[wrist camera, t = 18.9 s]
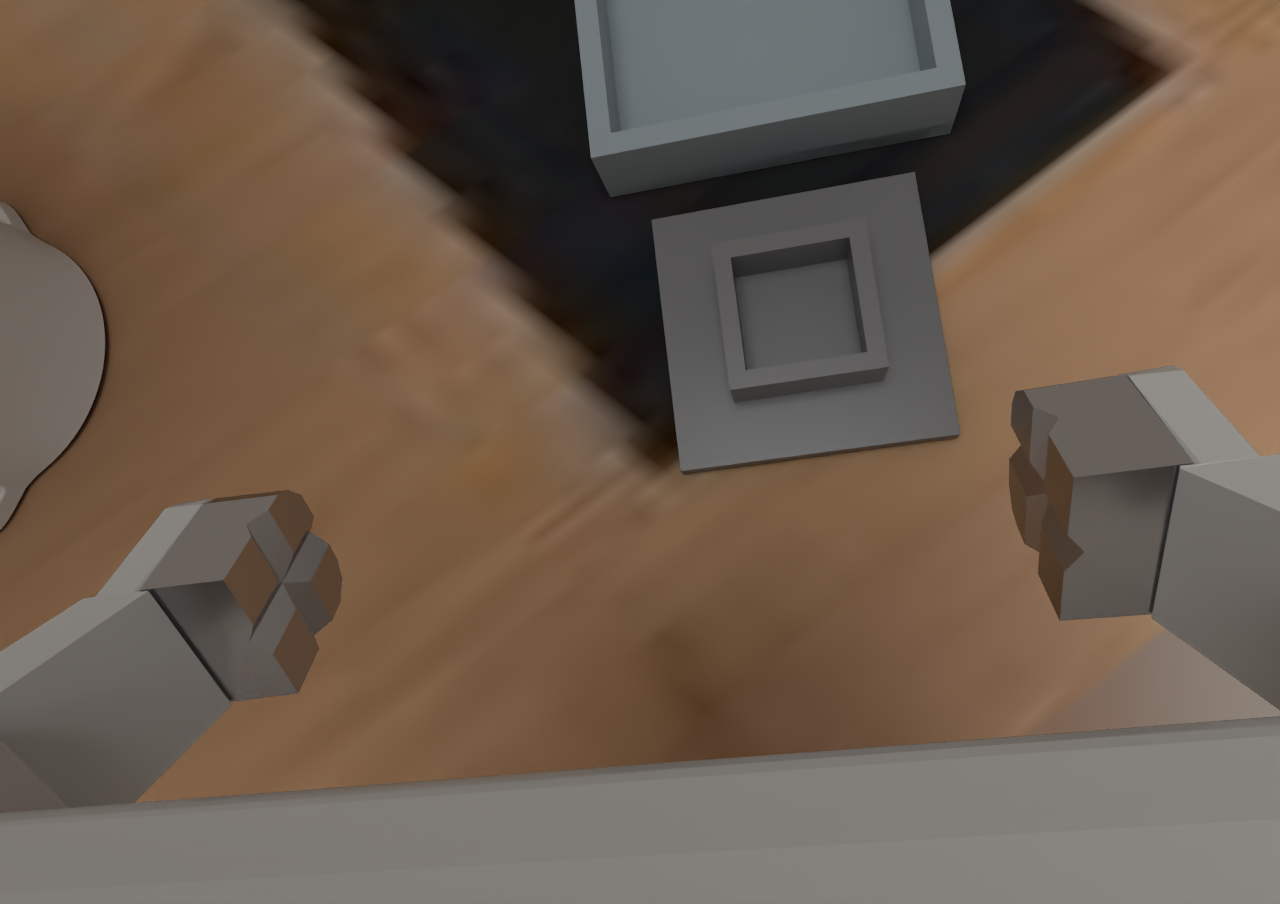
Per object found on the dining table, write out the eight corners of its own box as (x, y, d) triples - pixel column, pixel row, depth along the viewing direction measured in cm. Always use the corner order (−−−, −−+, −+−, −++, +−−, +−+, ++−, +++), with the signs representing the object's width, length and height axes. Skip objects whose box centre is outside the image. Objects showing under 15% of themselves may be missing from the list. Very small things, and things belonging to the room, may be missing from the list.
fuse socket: (683, 474, 40) (672, 463, 36) (655, 228, 42) (641, 196, 38) (956, 438, 38) (971, 423, 34) (911, 182, 40) (922, 144, 36)
